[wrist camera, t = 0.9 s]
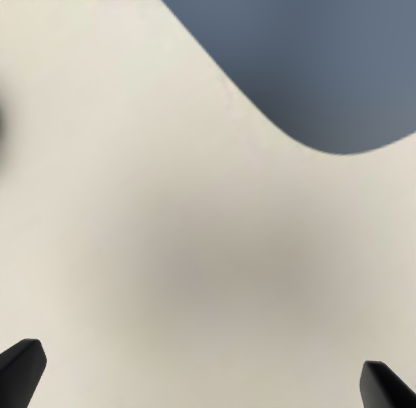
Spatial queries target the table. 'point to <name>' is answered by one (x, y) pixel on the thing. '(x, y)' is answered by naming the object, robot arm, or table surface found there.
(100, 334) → the table surface
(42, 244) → the table surface
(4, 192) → the table surface
